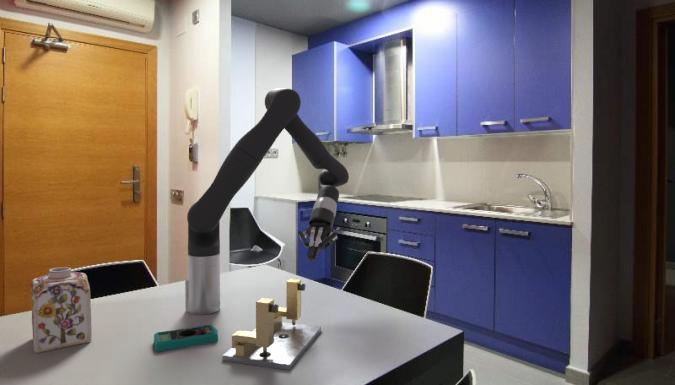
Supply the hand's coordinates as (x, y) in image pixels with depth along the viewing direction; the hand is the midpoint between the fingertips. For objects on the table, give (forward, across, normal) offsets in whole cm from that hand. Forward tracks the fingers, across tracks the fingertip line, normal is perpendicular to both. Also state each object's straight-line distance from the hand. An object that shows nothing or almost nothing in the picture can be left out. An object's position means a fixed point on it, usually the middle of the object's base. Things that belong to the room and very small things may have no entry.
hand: (311, 259), depth 126 cm
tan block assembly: (+27, -2, -6) cm, 28 cm away
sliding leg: (+20, -2, 0) cm, 20 cm away
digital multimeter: (+32, -23, -8) cm, 40 cm away
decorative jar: (+37, -53, -14) cm, 66 cm away
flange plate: (+28, -1, -5) cm, 29 cm away
